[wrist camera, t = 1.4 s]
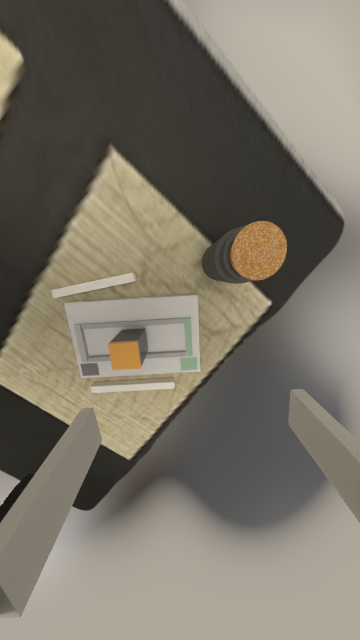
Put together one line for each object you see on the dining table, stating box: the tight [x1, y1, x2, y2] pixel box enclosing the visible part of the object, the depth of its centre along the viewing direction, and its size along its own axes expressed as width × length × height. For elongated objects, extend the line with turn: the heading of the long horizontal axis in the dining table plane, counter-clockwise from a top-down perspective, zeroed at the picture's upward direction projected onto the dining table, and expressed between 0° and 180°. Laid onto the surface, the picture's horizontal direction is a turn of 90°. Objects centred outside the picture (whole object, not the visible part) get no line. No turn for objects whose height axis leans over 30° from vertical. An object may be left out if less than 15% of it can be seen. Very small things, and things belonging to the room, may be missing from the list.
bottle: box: [202, 221, 287, 283], centre depth 22 cm, size 6×6×15 cm
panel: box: [64, 294, 200, 378], centre depth 31 cm, size 22×14×3 cm, turn 93°
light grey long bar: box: [91, 378, 175, 393], centre depth 34 cm, size 16×1×1 cm, turn 93°
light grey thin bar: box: [51, 273, 137, 298], centre depth 29 cm, size 14×1×1 cm, turn 101°
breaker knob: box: [108, 329, 148, 370], centre depth 27 cm, size 4×4×6 cm
